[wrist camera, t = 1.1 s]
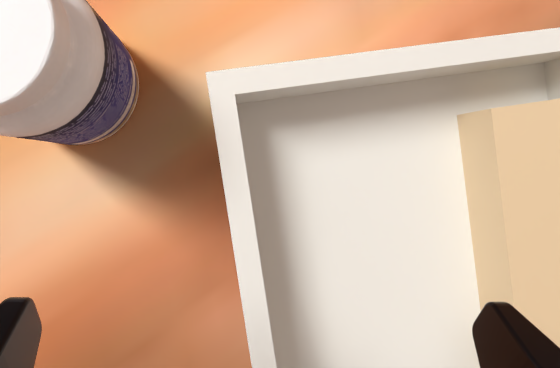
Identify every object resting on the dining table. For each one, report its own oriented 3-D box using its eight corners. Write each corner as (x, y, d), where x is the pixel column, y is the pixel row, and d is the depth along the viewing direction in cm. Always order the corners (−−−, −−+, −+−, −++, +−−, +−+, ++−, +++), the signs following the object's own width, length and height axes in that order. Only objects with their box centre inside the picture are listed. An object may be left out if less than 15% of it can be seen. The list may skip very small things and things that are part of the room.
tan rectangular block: (489, 382, 24) (526, 413, 21) (456, 115, 23) (490, 108, 20) (559, 367, 25) (605, 395, 22) (530, 104, 24) (574, 96, 21)
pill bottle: (145, 31, 22) (84, -72, 12) (136, 150, 23) (70, 142, 13) (18, 16, 22) (-154, -106, 12) (10, 139, 22) (-164, 122, 12)
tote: (269, 475, 24) (280, 547, 20) (208, 89, 23) (205, 72, 18) (584, 403, 26) (659, 453, 22) (546, 45, 25) (617, 20, 20)
